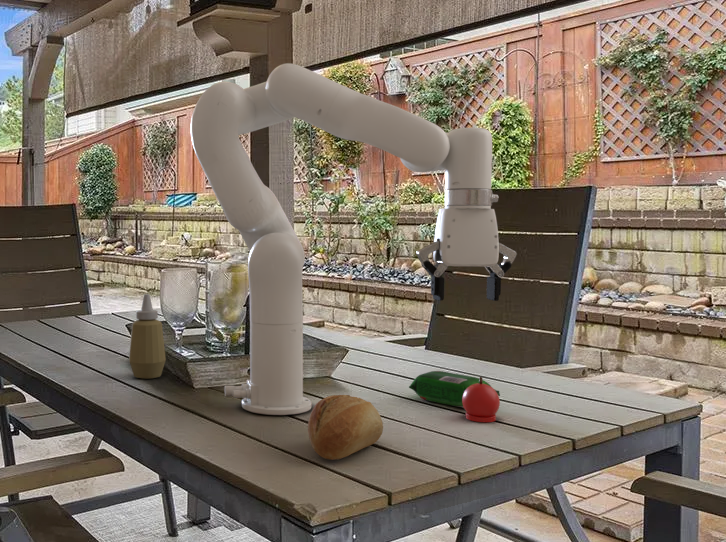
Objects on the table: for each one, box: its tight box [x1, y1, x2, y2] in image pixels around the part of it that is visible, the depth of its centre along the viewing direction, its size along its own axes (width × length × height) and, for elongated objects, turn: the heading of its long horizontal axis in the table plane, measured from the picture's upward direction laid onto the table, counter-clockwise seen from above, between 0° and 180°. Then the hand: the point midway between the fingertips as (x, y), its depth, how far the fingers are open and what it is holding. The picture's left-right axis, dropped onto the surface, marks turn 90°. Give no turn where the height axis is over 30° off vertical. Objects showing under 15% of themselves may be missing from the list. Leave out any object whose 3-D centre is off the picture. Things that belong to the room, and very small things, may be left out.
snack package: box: [408, 370, 501, 409], centre depth 139 cm, size 7×16×5 cm, turn 36°
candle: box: [462, 376, 501, 423], centre depth 128 cm, size 6×6×7 cm
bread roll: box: [307, 394, 384, 461], centre depth 110 cm, size 10×15×8 cm, turn 146°
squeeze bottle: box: [128, 293, 166, 380], centre depth 164 cm, size 8×8×18 cm
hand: (465, 299), depth 130 cm, fingers open, 9 cm apart
